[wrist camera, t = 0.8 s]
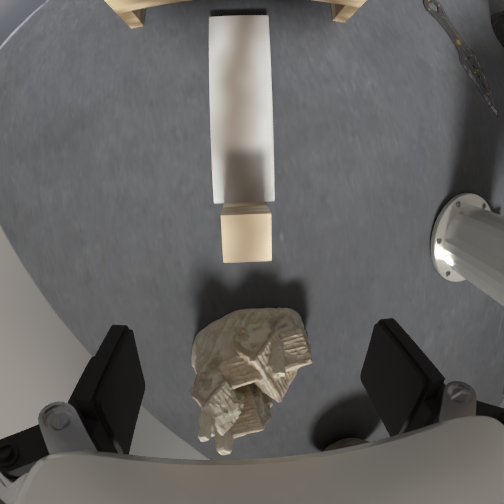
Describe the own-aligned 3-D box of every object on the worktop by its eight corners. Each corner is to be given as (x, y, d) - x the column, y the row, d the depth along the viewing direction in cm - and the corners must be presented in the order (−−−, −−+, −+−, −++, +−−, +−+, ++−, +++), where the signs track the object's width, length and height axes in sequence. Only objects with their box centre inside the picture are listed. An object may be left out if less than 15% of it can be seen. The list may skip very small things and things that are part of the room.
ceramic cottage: (211, 407, 41) (212, 488, 26) (177, 318, 36) (158, 400, 22) (312, 386, 42) (343, 461, 27) (299, 291, 37) (343, 362, 22)
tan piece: (266, 22, 25) (275, -12, 17) (272, 234, 33) (283, 260, 25) (210, 24, 25) (203, -10, 17) (217, 236, 32) (211, 263, 25)
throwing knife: (432, -5, 23) (434, -6, 22) (502, 112, 28) (505, 112, 28) (416, 2, 23) (418, 0, 23) (490, 124, 29) (493, 124, 28)
